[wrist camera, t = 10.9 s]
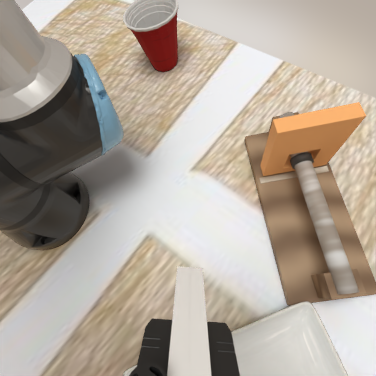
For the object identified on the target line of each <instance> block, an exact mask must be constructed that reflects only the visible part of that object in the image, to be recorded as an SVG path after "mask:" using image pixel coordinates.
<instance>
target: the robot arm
mask: <svg viewBox="0 0 376 376" xmlns="http://www.w3.org/2000/svg"><path fill="white" fill-rule="evenodd" d="M122 138H123V128H122V125H121V123H120V120H119V118H118V116H117V113H116V111H115V109H114V107H113V105H112V102H111V100H110V98H109V96H108V95H107V92H106V90H105V88H104V86H103V83H102V81H101V79H100V77H99V75H98V73H97V71H96V69H95V67H94V65H93V64H92V62H91V60H90V58H89V57H88V56H87V55H86V54H80V55H79V54H78V55H74V57H73V56H72V54H71V53H70V51H69V50H68V48H67V47H66V46H65V45H64V44H63V43H62V42H60V41H58V40H56V39H52V38H48V37H43V36H41V35H40V34H39V33H38V31H37V30H36V29H35V27H34V26H33V25H32V23H31V22H30V21H29V19H28V18H27V17H26V15H25V14H24V13H23V11H22V10H21V9H20V7H19V6H18V4H17V3H16V2H15V0H0V231H2V232H3V233H4V234H6V235H7V236H8V237H10V238H11V239H12V240H14V241H15V242H16V243H18V244H19V245H21V246H24V247H27V248H32V249H37V250H47V249H52V248H55V247H58V246H60V245H62V244H63V243H65V242H67V241H68V240H69V239H70V238H72V237H73V236H74V235H75V234H76V233H77V231H78V230H79V229H80V227H81V226H82V224H83V222H84V220H85V218H86V216H87V212H88V208H89V196H88V192H87V189H86V187H85V185H84V184H83V182H82V181H81V180H80V179H79V178H77V177H76V176H74V175H73V174H72V173H70V172H71V171H73V170H75V169H76V168H78V167H80V166H82V165H84V164H86V163H88V162H90V161H91V160H93V159H95V158H97V157H99V156H102V155H104V154H105V152H106V151H108V150H109V149H111V148H113V147H114V146H116V145H117V144H119V143H120V142H121V140H122ZM129 376H240V373H239V368H238V363H237V358H236V353H235V348H234V344H233V337H232V332H231V331H230V329H229V328H228V326H227V325H226V323H217V322H207V316H206V303H205V291H204V279H203V268H193V267H179V266H177V276H176V287H175V298H174V308H173V319H172V320H164V319H151V321H150V322H149V323H148V325H147V326H146V328H145V332H144V337H143V341H142V346H141V350H140V355H139V359H138V364H137V367H136V368H135V369H134V370H133V371H132V372H131V373H130V375H129Z"/></svg>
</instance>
